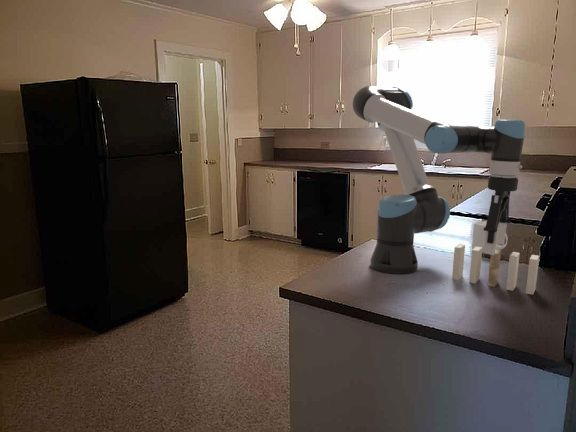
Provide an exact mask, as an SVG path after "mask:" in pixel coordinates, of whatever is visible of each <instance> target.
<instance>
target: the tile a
mask: <svg viewBox="0 0 576 432" xmlns="http://www.w3.org/2000/svg"><path fill="white" fill-rule="evenodd" d="M465 250H466V244H464V243H463V244H462V243H459V244H456V246H454V251H453V263H452V275H451V280H455V281H459V280H460V279H461V278H462V277H463V274H464V264H465V252H466V251H465Z"/></svg>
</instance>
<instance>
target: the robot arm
mask: <svg viewBox="0 0 576 432" xmlns="http://www.w3.org/2000/svg"><path fill="white" fill-rule="evenodd" d="M409 93H410V92H408V91H407V90H405V89H402V88H399V87H395V86H390V87H388V86H377V85H367V86H364V87H362V88H360V89H359V90H357V92H356V93H355V95H354V96H353V99H352V110H353V112H354V114H355V115H356V116H357V117H358V118H359V119H362V120H363V121H366V122H368V123H370V124H371V123H373V124H374V123H376V124H377V127H378V130H380V131H381V132H384V134H385V137H386V141H387V143H388V146H389V149H390V152H391V155H392V159H393V161H394V164H395V167H396V171H397V173H398V176H399V179H400V183H401V185H402V189H403V191H404V194H397V195H396V194H394V195H387V196H385V197H383V198H381V200H379V202H378V209H377V228H376V229H377V230H376V231H377V233H376V234H377V235H376V244H375V246H374V249H373V251H372V255H371V257H370V262H369V263H370V265H369V266H370V267H371V268H372V269H373V270H376V271H378V272H381V273H387V274H393V275H394V274H396V275H403V274H404V275H405V274H412V273H414V272H417V270H418V268H419V267H418V265H419V263H418V259H417V255H416V254H417V253H416V251H415V248H414V239H415V235H416V234H422V233H427V232H435V231H437V230H440V229H442V228H444V227H445V225H446V224H447V223H448V220H449V219H450V215H451V207H450V204H449V202H448V201H447V199H446V198H444V197H443V196H441V195H439V194H438V192H437V189H436V187H435V186H433V185H430V183H429V180H428V177H427V174H426V170H425V167H424V165H423V163H422V160H421V156H420V154H419V151H418V148H417V145H416V142H415V141H417V142H419V143H421V144H423V145H425V146H426V148H427V150H428V151H430V152H432V153H434V154H441V155H443V154H444V155H445V154H453V153H454V154H456V153H463V154H464V153H480V154H482V153H483V154H491V157H490V158H491V159H490V164H489V171H488V173H489V174H490V175H489V177H488V180H487V189H489V190H490V191H495V193H494V194H492V196H491V199H490V205H489V211H488V215H487V220H486V221H487V223H486V227H484V231H487V232H486V240H485V248H484V253H485V254H484V255H490V256H491V255H495V249H496V244H497V245H501V246H503V245H505V241H506V237H505V234H507V226H508V224H510V223H511V219H510V200H511V198H510V197H511V192H515V191H517V190H518V185H519V178H518V176H519V175H520V170H521V169H523V165H522V164H521V161H522V154H523V148H524V147H523V146H524V139H525V138H526V136H525V130H526V129H525V128H526V123H525V121H524V120H522V119H521V120H520V119H497V120H496V121H495V123H494V126H478V125H477V126H475V125H451V124H448V123H446V122H442V121H440V120H438V119H437V118H436V119H435V118H433V117H430V116H429V115H428V116H427V115H425V114H423V113H421V112H417V111H415V110H414V109H412V108H413V106H414V103H413V99H412V97H411V96H412V95H410V94H409Z"/></svg>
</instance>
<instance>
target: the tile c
mask: <svg viewBox="0 0 576 432" xmlns="http://www.w3.org/2000/svg"><path fill="white" fill-rule="evenodd" d="M520 255H521V254H520V252H518V251H512V252H511V253H510V255H509V260H508V269H507V276H506V285H505V286H506V289H505V290H506V291H507V290H508V291H512V292H513V291H514V290H515V288H516V287H517V281H518V272H519V271H518V270H519V261H520Z"/></svg>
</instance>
